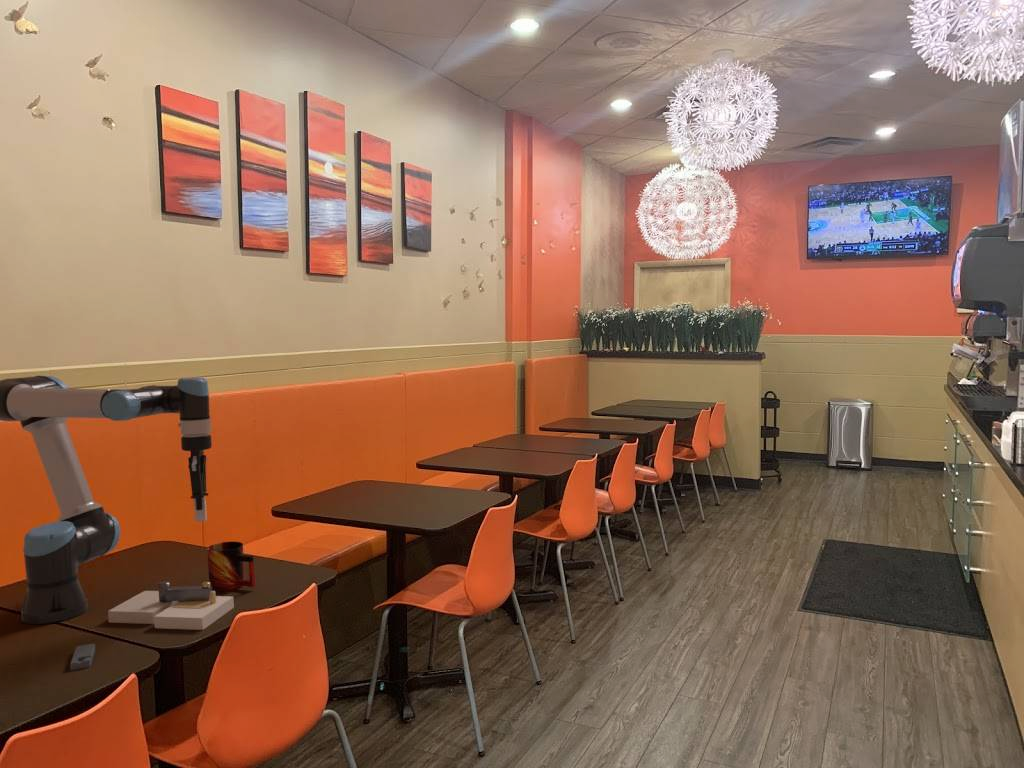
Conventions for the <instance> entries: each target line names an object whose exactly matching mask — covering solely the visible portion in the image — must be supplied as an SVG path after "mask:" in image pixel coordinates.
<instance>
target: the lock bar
mask: <svg viewBox="0 0 1024 768" xmlns="http://www.w3.org/2000/svg"><path fill="white" fill-rule="evenodd" d="M157 588H158V591H159V602H167V601H190V600H210V592H211V591H212V586H211V585H210V582H209V581H203V582H202V584H201V585H192V586H191V585H190V586H188V585H187V586H171V582H170V581H167V580H166V581H160V582H159V583H158V585H157Z"/></svg>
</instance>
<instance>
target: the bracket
mask: <svg viewBox="0 0 1024 768" xmlns="http://www.w3.org/2000/svg"><path fill="white" fill-rule="evenodd" d="M95 652H96V644H95V643H89V644H84V645H77V646H75V649H74V651H73V655H72V658H71V661H70V664H69V669H70V671H76V670H81V669H87V668H91V666H92V662H93V660H94V659H93V658H94V656H95Z"/></svg>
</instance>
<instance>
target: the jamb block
mask: <svg viewBox="0 0 1024 768" xmlns="http://www.w3.org/2000/svg"><path fill="white" fill-rule="evenodd" d="M177 602H178V601H167V602H159V590H144V591H142V592H140V593H139V594H136V595H134V596H132V597H131V598H129V599H128V600H125V601H123V602H122V603H120V604H118V605H116V606H114V607H113V608H111V609H109V610H108V611H107V615H108V623H112V624H113V623H117V624H145V625H147V624H148V625H155V624H154V616H156V615H157V614H159V613H160V612H162V611H164V610H165V609H167V608H169V607H170V606H172V605H173V604H175V603H177Z"/></svg>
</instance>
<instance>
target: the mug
mask: <svg viewBox="0 0 1024 768" xmlns="http://www.w3.org/2000/svg"><path fill="white" fill-rule="evenodd" d="M206 549H207V551H206V553H207V565H208V566H207V569H208V582H210V585H211V586H212V591H215V593H218V594H220V593H221V594H222V593H229V592H235V591H238V590H240V588H241V589H242V587H243V588H244V587H250V588H254V587H256V577H255V576H256V575H255V566H254V565H255V564H254V562H255V561H254V560H255V559H254V555H249V554H244V543H242V542H241V541H223V542H217V543H214V544H210V545H209V546H207V548H206ZM244 562H246V563H248V572H249V573H248V574H249V575H248V576H249V579H245V576H246V575H245V563H244Z"/></svg>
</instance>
